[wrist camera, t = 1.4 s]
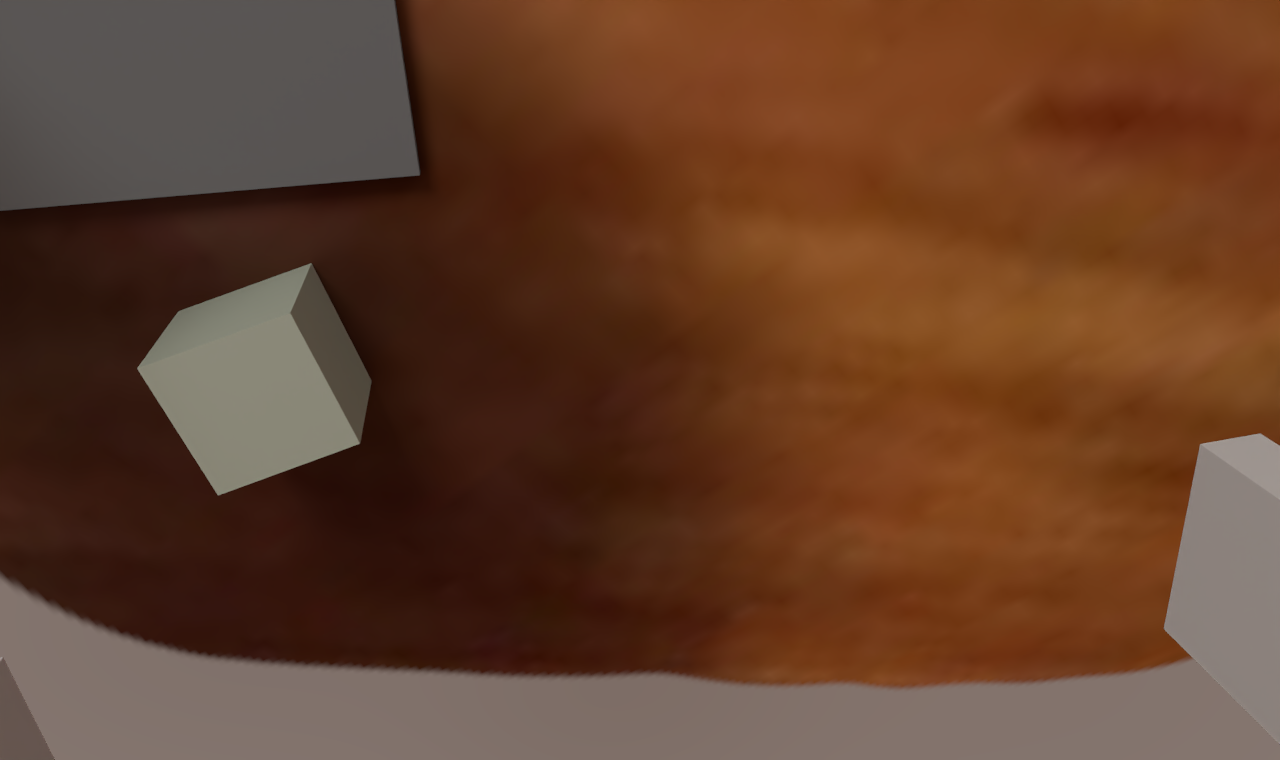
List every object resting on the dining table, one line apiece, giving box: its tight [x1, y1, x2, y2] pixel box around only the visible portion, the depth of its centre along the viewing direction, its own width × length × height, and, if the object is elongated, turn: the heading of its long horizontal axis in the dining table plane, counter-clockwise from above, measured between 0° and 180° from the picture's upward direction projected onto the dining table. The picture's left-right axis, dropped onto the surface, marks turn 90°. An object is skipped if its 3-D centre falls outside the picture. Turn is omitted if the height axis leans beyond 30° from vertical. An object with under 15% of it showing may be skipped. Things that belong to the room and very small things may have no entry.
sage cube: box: [137, 263, 372, 495], centre depth 33 cm, size 5×5×5 cm
